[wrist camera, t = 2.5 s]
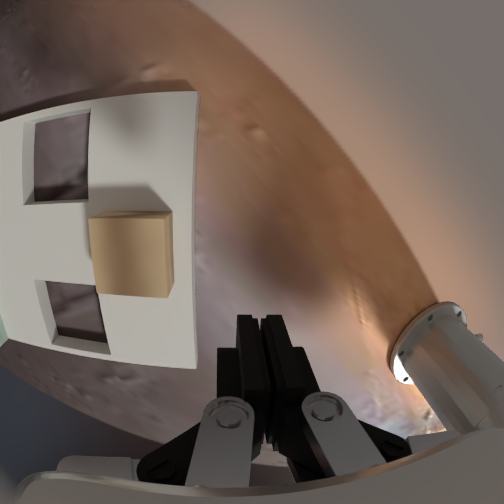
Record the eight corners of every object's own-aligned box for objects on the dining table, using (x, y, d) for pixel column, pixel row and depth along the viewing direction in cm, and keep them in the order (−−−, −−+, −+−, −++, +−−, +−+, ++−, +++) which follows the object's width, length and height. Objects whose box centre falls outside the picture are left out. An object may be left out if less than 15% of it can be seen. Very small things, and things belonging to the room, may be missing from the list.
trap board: (200, 96, 21) (193, 82, 17) (197, 356, 28) (193, 385, 24) (-15, 131, 19) (-41, 132, 14) (11, 329, 26) (-6, 347, 22)
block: (172, 211, 22) (164, 218, 19) (174, 282, 24) (167, 298, 21) (104, 210, 21) (88, 218, 18) (110, 278, 23) (96, 293, 20)
